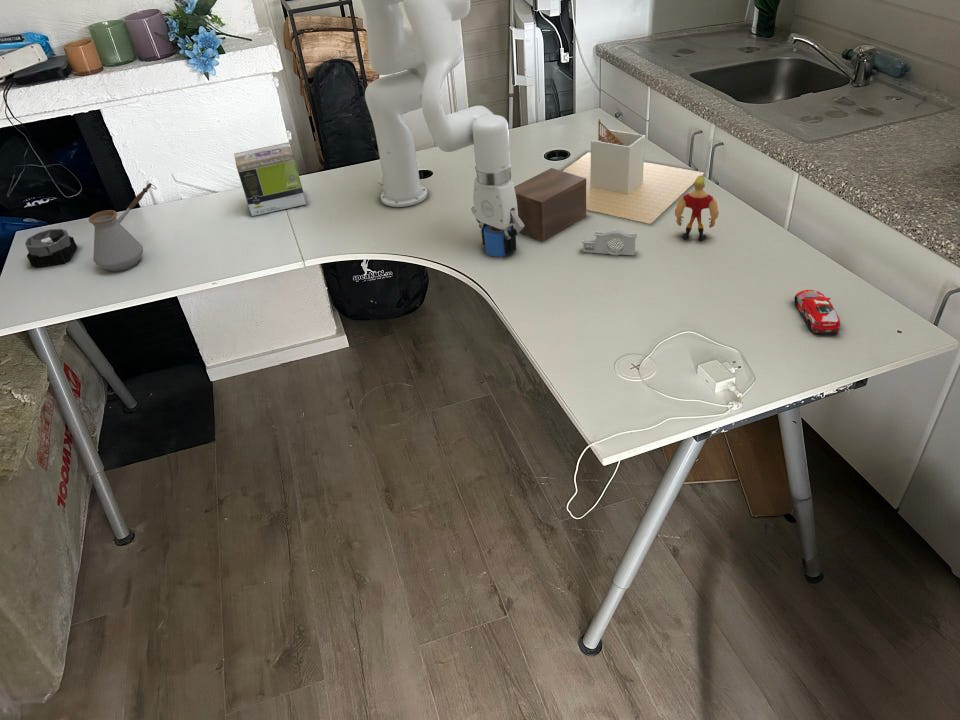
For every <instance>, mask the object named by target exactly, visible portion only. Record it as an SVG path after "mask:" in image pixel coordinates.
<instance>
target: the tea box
mask: <svg viewBox="0 0 960 720" xmlns="http://www.w3.org/2000/svg"><path fill="white" fill-rule="evenodd" d="M233 155H234V161H235V167H236V170H237V174H238V177H239V181H240V183H241V186H242V190H243V194H244V196H245V199H246V202H247V206H248V208H249V212H250V215H251V216H252V217H255V216H260V215H265V214H268V213H269V214H270V213H273V212H278V211H282V210H286V209H291V208H295V207H300V206H304V205H307V201H306V198H305V193H304V189H303V186H302V182H301V179H300V178H301V177H300V174H299V170H298V166H297V162H296V159H295V155H294V152H293V150H292V148H291V145H290V142H283V143H278V144H273V145H269V146H264V147H259V148H255V149H249V150H245V151H240V152H235V153H234V154H233Z"/></svg>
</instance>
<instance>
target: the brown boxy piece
mask: <svg viewBox="0 0 960 720" xmlns="http://www.w3.org/2000/svg"><path fill="white" fill-rule="evenodd" d="M514 189H515V194H516V200H517V209H518V217H519V218H520V220H521V221H522V222H523V224H524V228H523V229H522V230H521V231H520V232H519V234H523V235H525V236H528V237H529V238H533V239H534V240H537V241H540V242H545V241H546V240H548V239H550V238H551V237H553V236H555V235H557V234H559V233H561V232H562V231H565V230H566V229H567V228H569V227H571V226H572V225H574V224H576V223H578V222H579V221H581V220H583V219H585V218H586V217H587V210H586V178H583V177H580V176H577V175H573V174H570V173H567V172H563V170H560V169H556V168H554V167H551V168H549V169H546V170H545V171H542V172H541V173H539V174H537V175H535V176H532V177H530V178H528V179H526V180H525V181H523V182H521V183H519V184H517V185H514Z"/></svg>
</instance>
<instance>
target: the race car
mask: <svg viewBox="0 0 960 720" xmlns="http://www.w3.org/2000/svg"><path fill="white" fill-rule="evenodd" d="M830 300H831V297H826V296H825V295H824V293H822V292H821V291H818V290H815V289H803V290H801V291H798V292H797V293H796V294H795V295H794V301H793V302H794V305H795V307H797V309H798V311H799V313H800V314H801V316H802V318H803V320H804V321H805V323H806V324H807V328H808V329H809V330H811V331H812V332H814V333H817V334H836V333H838V332H840V328H841V319H840V316H839V315H838V313H837V311H836V310H835V308H834V306H833V304H832V303H831V301H830Z"/></svg>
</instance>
